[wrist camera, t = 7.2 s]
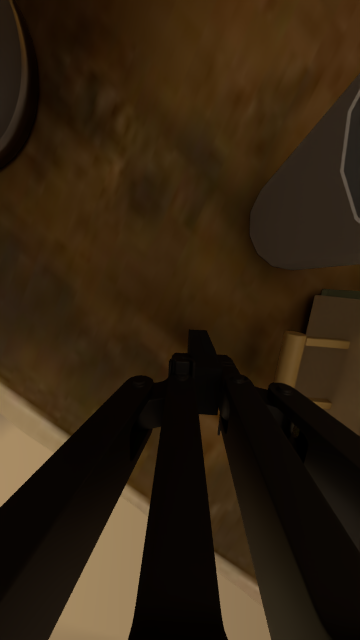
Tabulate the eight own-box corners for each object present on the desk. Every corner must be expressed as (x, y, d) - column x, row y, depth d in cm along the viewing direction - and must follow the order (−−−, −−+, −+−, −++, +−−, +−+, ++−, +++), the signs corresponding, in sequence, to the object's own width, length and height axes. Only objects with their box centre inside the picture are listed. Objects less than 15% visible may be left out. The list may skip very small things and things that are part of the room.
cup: (312, 143, 15) (545, -105, 5) (362, 225, 16) (627, 144, 7) (230, 217, 16) (297, 126, 7) (282, 287, 18) (403, 297, 8)
